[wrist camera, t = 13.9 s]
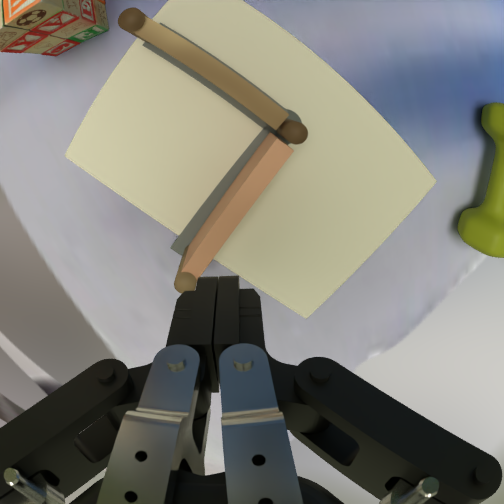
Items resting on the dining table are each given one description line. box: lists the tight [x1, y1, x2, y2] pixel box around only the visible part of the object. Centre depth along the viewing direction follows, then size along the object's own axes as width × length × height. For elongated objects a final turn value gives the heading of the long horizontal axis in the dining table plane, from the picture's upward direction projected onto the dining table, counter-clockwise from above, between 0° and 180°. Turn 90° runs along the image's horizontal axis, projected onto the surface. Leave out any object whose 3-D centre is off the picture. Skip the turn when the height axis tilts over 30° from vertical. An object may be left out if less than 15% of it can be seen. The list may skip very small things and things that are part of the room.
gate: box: [174, 132, 294, 293], centre depth 26 cm, size 2×14×6 cm, turn 145°
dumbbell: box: [458, 102, 504, 258], centre depth 25 cm, size 16×8×7 cm, turn 174°
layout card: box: [65, 0, 437, 318], centre depth 27 cm, size 23×31×1 cm
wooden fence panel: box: [118, 8, 308, 145], centre depth 21 cm, size 2×16×6 cm, turn 52°
